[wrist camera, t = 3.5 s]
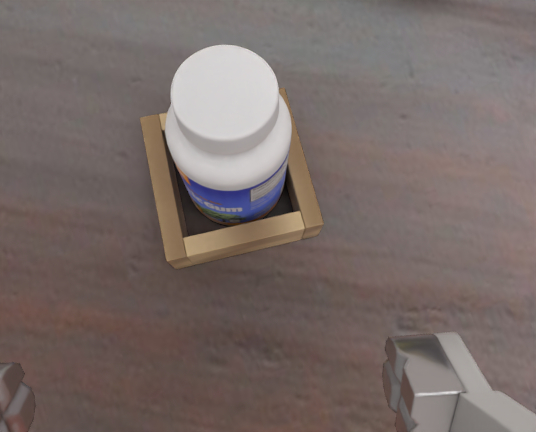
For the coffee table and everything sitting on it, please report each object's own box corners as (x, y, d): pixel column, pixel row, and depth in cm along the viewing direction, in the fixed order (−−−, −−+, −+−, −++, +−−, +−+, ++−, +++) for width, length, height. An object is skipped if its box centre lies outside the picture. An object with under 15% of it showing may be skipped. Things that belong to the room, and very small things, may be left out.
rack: (176, 269, 24) (166, 261, 22) (150, 138, 26) (139, 117, 24) (318, 235, 25) (324, 224, 22) (282, 109, 27) (284, 86, 24)
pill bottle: (169, 190, 25) (114, 102, 16) (229, 122, 26) (210, 2, 17) (245, 248, 24) (234, 189, 15) (303, 174, 26) (326, 78, 16)
